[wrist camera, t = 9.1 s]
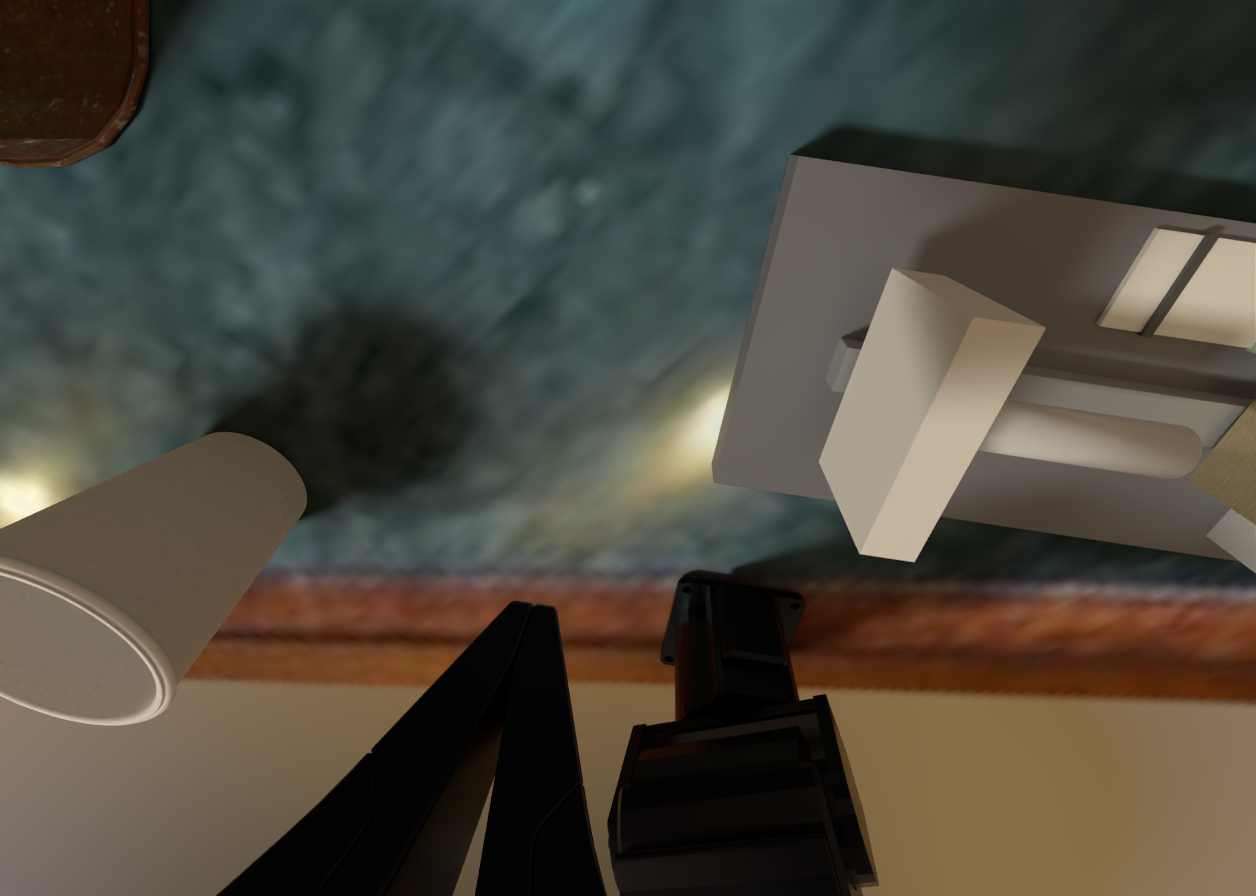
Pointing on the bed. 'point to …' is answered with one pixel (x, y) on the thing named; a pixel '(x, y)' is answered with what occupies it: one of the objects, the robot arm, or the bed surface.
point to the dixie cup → (138, 577)
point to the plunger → (959, 414)
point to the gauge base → (1059, 365)
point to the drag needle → (1233, 467)
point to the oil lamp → (68, 77)
